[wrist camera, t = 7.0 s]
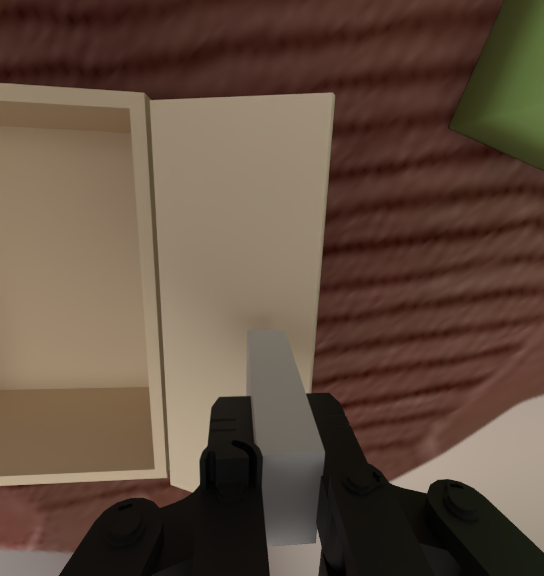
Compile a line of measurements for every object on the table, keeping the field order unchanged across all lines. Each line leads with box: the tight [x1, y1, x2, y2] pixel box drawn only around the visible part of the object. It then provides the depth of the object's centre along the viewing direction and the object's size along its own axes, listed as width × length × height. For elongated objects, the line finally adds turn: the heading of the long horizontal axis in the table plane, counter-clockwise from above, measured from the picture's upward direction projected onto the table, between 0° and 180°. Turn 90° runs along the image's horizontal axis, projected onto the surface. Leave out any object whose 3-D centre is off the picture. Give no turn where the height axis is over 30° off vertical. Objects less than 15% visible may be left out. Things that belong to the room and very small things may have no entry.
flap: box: [150, 93, 335, 492], centre depth 17 cm, size 21×1×8 cm
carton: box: [0, 83, 170, 486], centre depth 23 cm, size 22×21×10 cm
